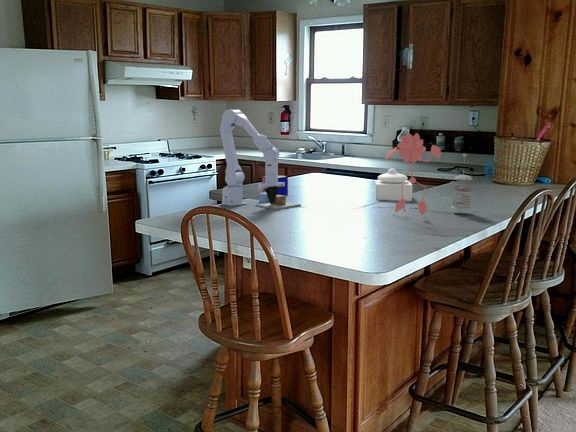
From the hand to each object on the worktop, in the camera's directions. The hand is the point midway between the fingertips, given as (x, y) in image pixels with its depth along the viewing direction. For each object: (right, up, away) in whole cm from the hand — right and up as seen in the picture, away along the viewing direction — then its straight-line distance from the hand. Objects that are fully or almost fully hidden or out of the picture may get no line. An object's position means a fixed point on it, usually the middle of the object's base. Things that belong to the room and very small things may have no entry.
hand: (271, 203), depth 269 cm
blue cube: (-3, 0, +12) cm, 13 cm away
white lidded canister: (+60, +2, +24) cm, 65 cm away
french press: (+87, -2, -1) cm, 87 cm away
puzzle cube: (+1, +5, +38) cm, 38 cm away
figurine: (+59, -6, -19) cm, 62 cm away
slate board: (+3, -2, +3) cm, 4 cm away
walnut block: (+3, -1, +3) cm, 4 cm away
